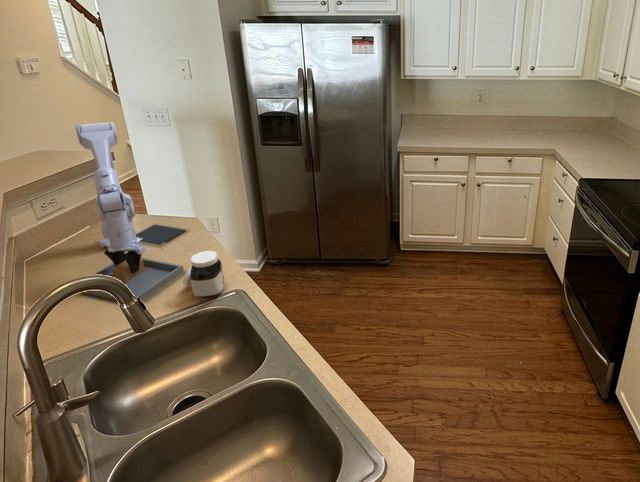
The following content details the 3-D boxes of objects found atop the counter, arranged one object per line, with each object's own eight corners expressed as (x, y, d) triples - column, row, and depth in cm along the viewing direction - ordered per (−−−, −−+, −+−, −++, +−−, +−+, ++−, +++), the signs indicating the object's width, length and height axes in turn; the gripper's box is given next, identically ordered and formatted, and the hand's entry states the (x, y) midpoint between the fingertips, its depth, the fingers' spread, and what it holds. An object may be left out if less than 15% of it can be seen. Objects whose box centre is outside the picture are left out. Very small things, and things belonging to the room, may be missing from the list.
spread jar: (220, 300, 121) (214, 265, 117) (177, 304, 119) (169, 268, 115) (229, 277, 132) (224, 244, 128) (190, 280, 130) (183, 246, 126)
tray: (76, 292, 123) (74, 284, 122) (128, 261, 139) (127, 254, 138) (137, 306, 118) (135, 298, 117) (184, 272, 134) (182, 265, 133)
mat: (128, 240, 152) (127, 238, 152) (154, 226, 163) (154, 224, 163) (160, 246, 149) (160, 244, 149) (185, 231, 160) (185, 229, 159)
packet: (114, 280, 128) (111, 268, 127) (133, 268, 135) (131, 257, 133) (126, 282, 127) (123, 271, 126) (145, 270, 134) (142, 259, 132)
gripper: (86, 232, 124) (97, 273, 129) (126, 240, 120) (136, 281, 125) (108, 222, 130) (118, 261, 135) (147, 229, 126) (156, 268, 131)
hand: (128, 270), depth 130 cm, fingers closed on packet, 4 cm apart
